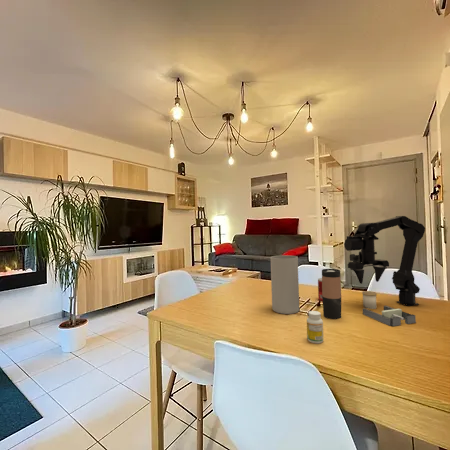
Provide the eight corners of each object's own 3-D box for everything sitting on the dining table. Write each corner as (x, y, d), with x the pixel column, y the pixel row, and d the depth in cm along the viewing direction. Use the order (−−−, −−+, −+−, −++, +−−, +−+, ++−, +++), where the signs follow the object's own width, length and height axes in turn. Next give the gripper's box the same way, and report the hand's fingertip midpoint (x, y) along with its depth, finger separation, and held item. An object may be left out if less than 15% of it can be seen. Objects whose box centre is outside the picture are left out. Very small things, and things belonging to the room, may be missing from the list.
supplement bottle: (320, 345, 86) (319, 316, 86) (304, 341, 90) (303, 313, 90) (325, 339, 90) (324, 312, 90) (310, 335, 94) (309, 309, 94)
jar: (370, 304, 126) (369, 290, 126) (379, 308, 121) (379, 293, 121) (360, 305, 125) (359, 291, 125) (369, 309, 119) (368, 294, 119)
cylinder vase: (304, 309, 123) (302, 256, 123) (291, 316, 113) (289, 259, 113) (280, 304, 131) (279, 254, 131) (267, 310, 122) (265, 257, 122)
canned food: (336, 302, 131) (335, 280, 131) (319, 302, 133) (319, 280, 132) (333, 298, 138) (332, 277, 138) (317, 298, 140) (316, 277, 140)
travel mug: (341, 314, 115) (339, 268, 115) (342, 320, 107) (341, 272, 107) (322, 312, 117) (321, 268, 117) (323, 318, 110) (321, 271, 110)
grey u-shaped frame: (385, 311, 116) (385, 304, 116) (417, 322, 102) (416, 315, 102) (362, 314, 114) (362, 307, 114) (391, 326, 99) (391, 318, 99)
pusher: (399, 317, 108) (399, 308, 108) (412, 322, 102) (411, 312, 102) (381, 319, 106) (381, 310, 106) (393, 324, 100) (393, 315, 100)
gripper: (370, 247, 133) (371, 277, 133) (339, 249, 128) (340, 281, 128) (389, 248, 122) (390, 281, 122) (355, 251, 117) (357, 285, 117)
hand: (369, 282), depth 123 cm, fingers open, 9 cm apart
